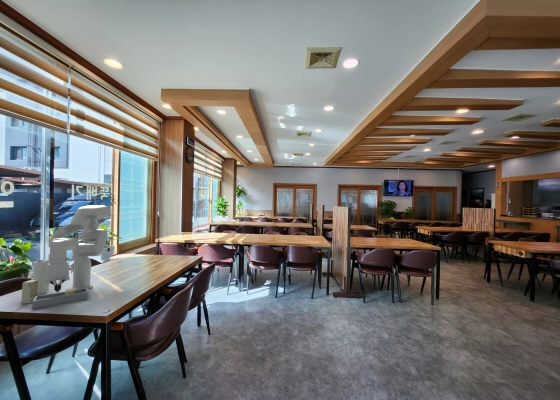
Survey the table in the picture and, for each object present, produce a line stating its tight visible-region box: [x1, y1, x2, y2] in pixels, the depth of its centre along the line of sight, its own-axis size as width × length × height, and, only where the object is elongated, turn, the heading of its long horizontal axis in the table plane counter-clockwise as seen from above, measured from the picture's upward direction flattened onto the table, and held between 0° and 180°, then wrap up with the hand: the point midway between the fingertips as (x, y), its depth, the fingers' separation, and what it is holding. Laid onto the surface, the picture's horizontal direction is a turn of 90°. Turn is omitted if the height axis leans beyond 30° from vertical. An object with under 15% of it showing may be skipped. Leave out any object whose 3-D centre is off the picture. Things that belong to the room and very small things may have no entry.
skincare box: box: [20, 279, 38, 305], centre depth 143 cm, size 6×4×12 cm
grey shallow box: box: [31, 288, 89, 310], centre depth 144 cm, size 10×24×4 cm, turn 130°
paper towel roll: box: [32, 259, 50, 296], centre depth 157 cm, size 7×6×21 cm
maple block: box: [64, 287, 75, 295], centre depth 146 cm, size 4×4×4 cm
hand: (57, 291), depth 144 cm, fingers closed
